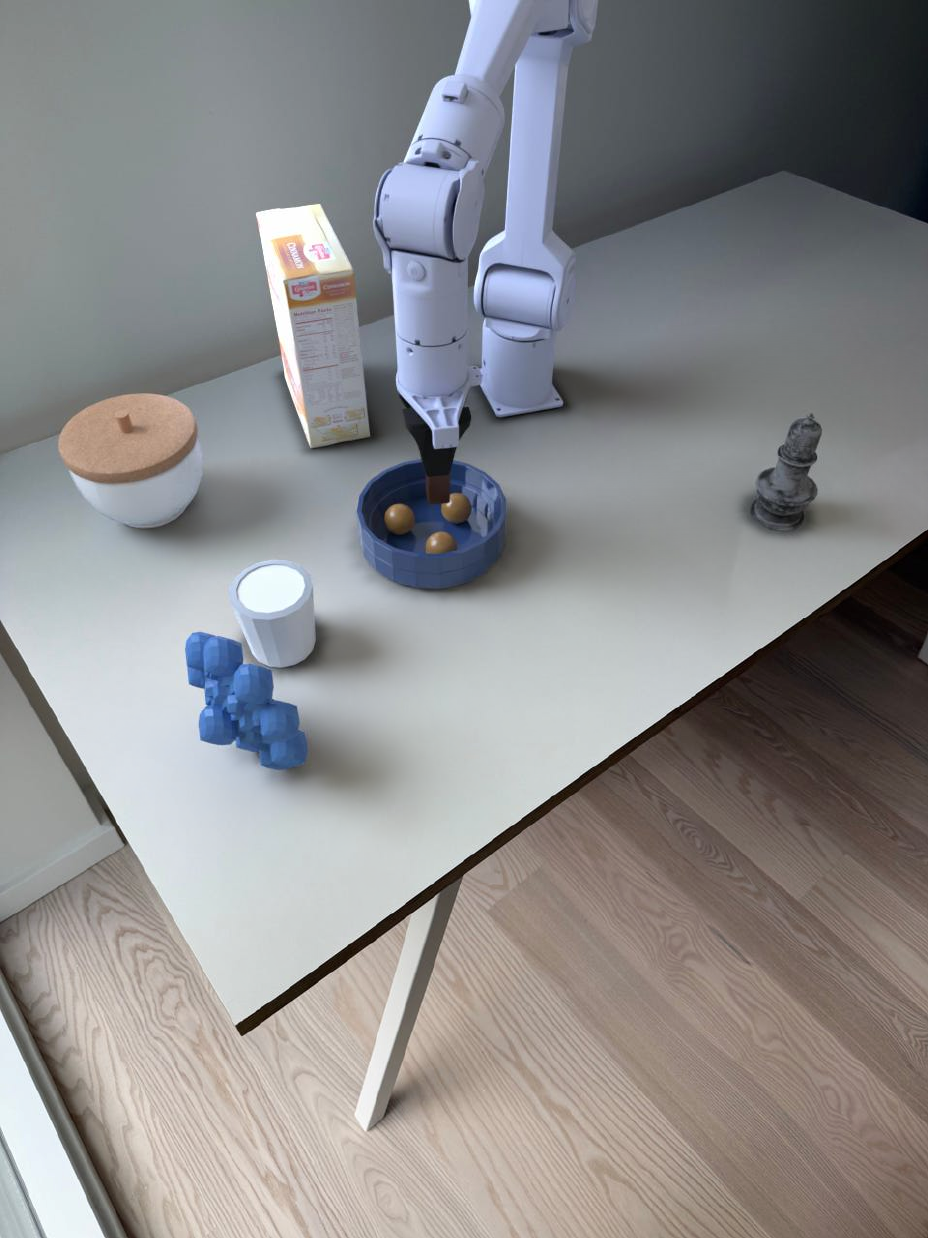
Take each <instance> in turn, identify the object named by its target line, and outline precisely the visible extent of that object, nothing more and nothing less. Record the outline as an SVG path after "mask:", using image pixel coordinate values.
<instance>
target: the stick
mask: <svg viewBox="0 0 928 1238" xmlns="http://www.w3.org/2000/svg"><path fill="white" fill-rule="evenodd" d="M426 495H427V499H428V504H429V505H433V504H444V503H450V473H449V474H448V475H443V476H433V477H427V476H426Z"/></svg>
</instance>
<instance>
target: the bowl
mask: <svg viewBox="0 0 928 1238" xmlns="http://www.w3.org/2000/svg"><path fill="white" fill-rule="evenodd" d="M452 493H461V494H463V495H465V496H466V497H467V498H468V499H469V500H470V502H471V506H472V511H471V514H470V516H469V518H468V519H467V520H466V521H464V522H463V523H459V524H454V523H450V522H448V521H447V520H446V519H445V518H444V517H443V515H442V512H441V505H442V504H433V505H429V504H428V499H427V495H426V474H425V471H424V468H423V465H422V460H421V458H420V459H419V458H418V459H414V460H408V461H403V462H400V463H397V464H396V465H393V466H390V467H388V468H386V469H383V470H382V471H380V472H379V473H378V474H377V475H376V476H374V477H373V478H371V479H370V480H369V481H368V482H367V483H366V485H365V486H364V487H363V489H362V491H361V492H360V494H359V495H358V497H357V505H356V511H355V512H356V513H355V514H356V521H357V528H358V529H357V531H358V537H359V544H360V548H361V550H362V554H363V557H364V559H365V560H366V561H367V562H368V563H369V565H370V566H371V567H372V568H373V569H374V571H375V572H377V573H379V574H380V575H382V576H384V577H385V578H387V579H389V580H391V581H392V582H395V583H397V584H401V585H405V586H409V587H412V588H417V589H445V588H450V587H454V586H455V587H456V586H459V585H464V584H466V583H468V582H471V581H472V580H474V579H476V578H478V577H480V576H482V575H484V574H485V573H486V572H487V571H488V570H489V569H490V568H491V567H493V566H494V565H495V564H496V562H498V561H499V559H500V557H501V554H502V552H503V550H504V548H505V545H506V532H507V531H506V530H507V497H506V496H505V494H504V492H503V490H502V488H501V486H500V484H499V483H498V482H497V481H496V480H495V479H494V478H492V476H491V475H490V474H488V473H487V472H486V471H484V470H482V469H479V468H478V467H476V466H474V465H471V464H469V463H468V462H463V461H459V460H453V464H452V467H451V470H450V494H452ZM395 504H404V505H406V506H408V507H409V508H411V510H412V511H413V513H414V516H415V523H414V526H413V528H412V529H411V530H410V531H409V532H408V533H406V534H403V535H396V534H393V533H391V532H390V531H389V530H388V529H387V528H386V526H385V524H384V515H385V512H386V511H387V509H388V508H389V507H391V506H392V505H395ZM436 532H447V533H449V534H451V535H452V536H453V537H454V538H455V540H456V542H457V547H458V549H457V550H456V551H451V552H446V553H441V554H427V553H426V542H427V540H428V538H429V537H430V536H431V535H432V534H434V533H436Z"/></svg>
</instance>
